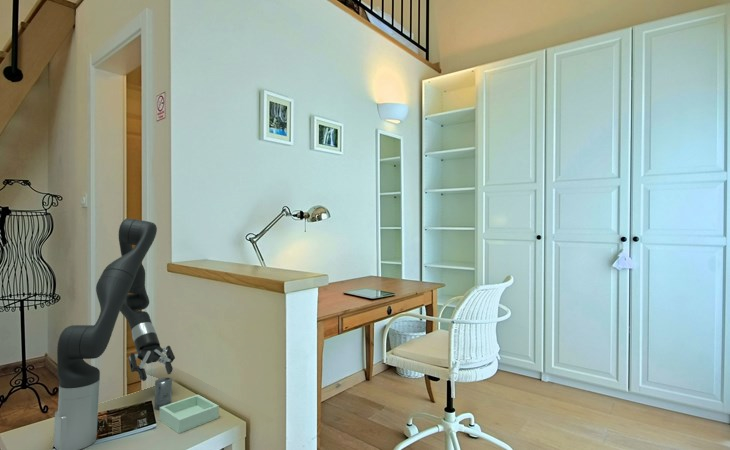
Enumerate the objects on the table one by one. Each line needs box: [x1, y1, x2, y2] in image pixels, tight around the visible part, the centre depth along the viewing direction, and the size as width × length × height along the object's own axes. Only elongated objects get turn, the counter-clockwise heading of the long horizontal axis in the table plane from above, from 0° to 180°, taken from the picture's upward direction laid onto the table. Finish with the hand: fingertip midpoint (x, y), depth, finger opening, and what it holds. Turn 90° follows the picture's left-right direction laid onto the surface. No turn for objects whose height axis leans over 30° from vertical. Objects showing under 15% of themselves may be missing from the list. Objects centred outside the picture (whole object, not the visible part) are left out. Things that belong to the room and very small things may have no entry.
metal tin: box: [153, 377, 173, 411], centre depth 131 cm, size 5×5×9 cm
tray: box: [158, 394, 220, 434], centre depth 123 cm, size 13×13×4 cm
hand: (157, 376), depth 134 cm, fingers open, 8 cm apart
